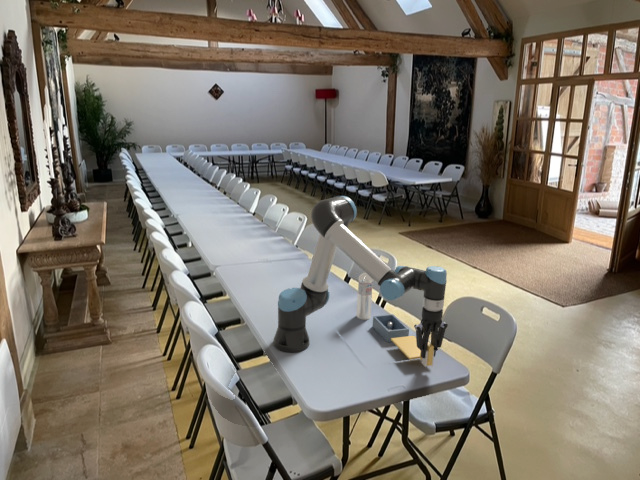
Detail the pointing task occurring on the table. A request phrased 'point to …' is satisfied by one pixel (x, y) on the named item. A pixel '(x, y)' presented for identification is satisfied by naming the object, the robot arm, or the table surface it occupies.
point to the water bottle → (364, 297)
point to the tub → (397, 331)
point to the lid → (412, 348)
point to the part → (390, 325)
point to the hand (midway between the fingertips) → (427, 364)
